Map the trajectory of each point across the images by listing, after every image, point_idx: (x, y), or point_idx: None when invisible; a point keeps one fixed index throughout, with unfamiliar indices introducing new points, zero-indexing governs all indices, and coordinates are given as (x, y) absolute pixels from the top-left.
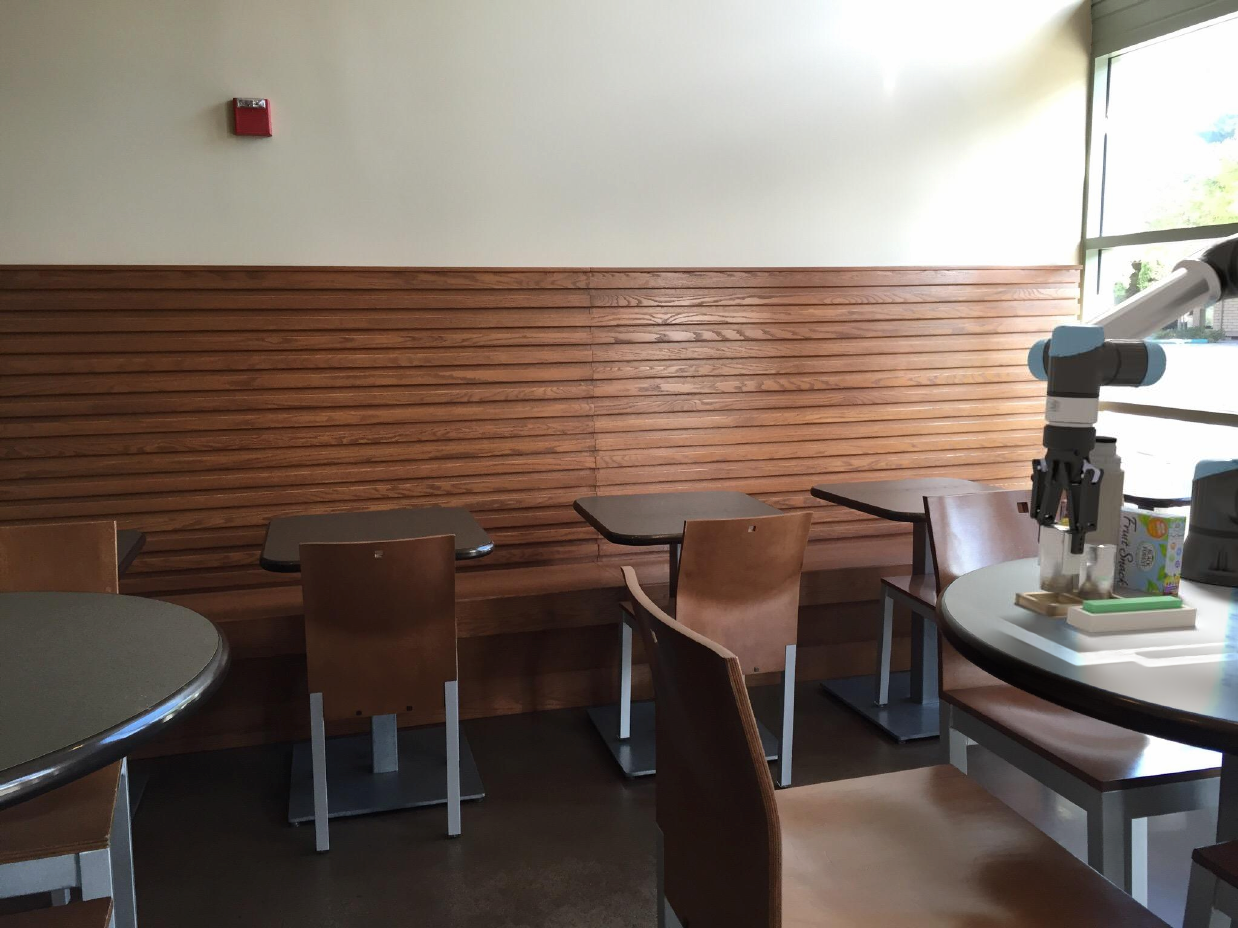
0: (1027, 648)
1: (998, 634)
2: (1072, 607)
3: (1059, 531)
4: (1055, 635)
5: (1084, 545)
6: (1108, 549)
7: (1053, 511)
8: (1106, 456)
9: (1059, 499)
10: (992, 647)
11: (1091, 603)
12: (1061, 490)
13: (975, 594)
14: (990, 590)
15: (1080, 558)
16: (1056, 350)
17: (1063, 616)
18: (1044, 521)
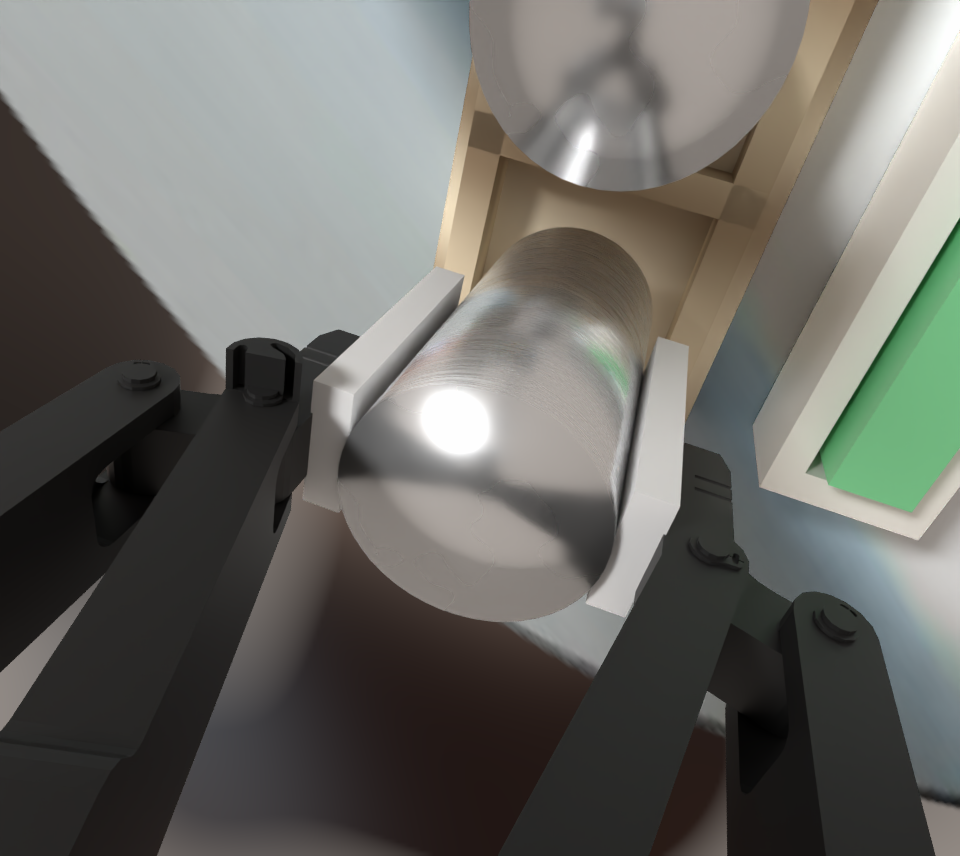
0: None
1: (626, 615)
2: (782, 487)
3: (543, 612)
4: (749, 492)
5: (554, 171)
6: (777, 90)
7: (265, 513)
8: None
9: (215, 596)
10: (698, 720)
11: (882, 494)
12: (162, 722)
13: (206, 250)
14: (159, 122)
15: (684, 395)
16: None
17: (693, 376)
18: (288, 495)
